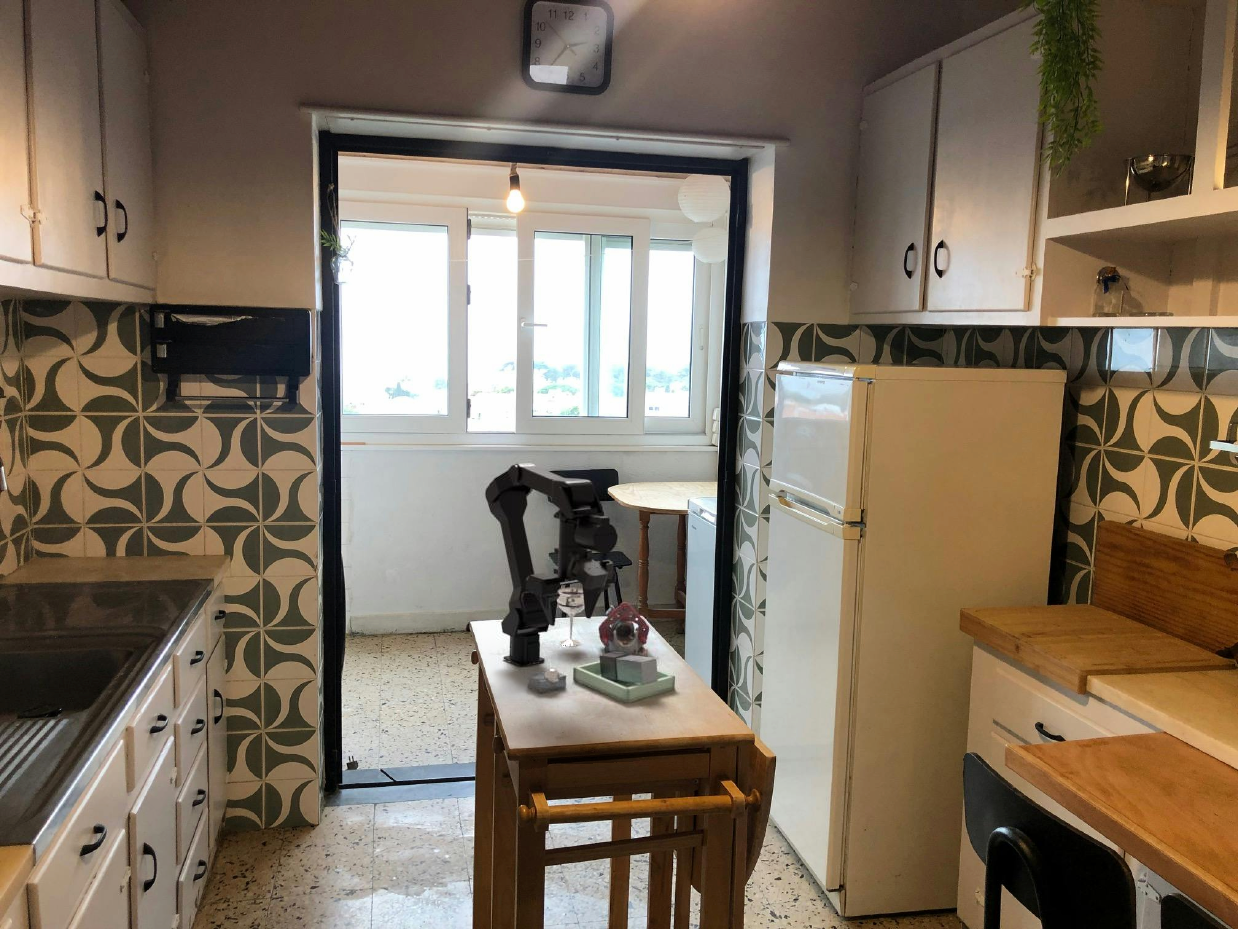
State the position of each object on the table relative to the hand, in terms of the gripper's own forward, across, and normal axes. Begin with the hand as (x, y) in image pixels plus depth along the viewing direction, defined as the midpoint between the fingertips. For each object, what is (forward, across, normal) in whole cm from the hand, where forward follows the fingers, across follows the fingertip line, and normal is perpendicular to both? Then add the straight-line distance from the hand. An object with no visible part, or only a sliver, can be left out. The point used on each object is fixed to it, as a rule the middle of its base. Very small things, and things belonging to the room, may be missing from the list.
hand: (570, 621), depth 188 cm
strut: (+11, +9, -9) cm, 16 cm away
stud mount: (+12, -5, 0) cm, 13 cm away
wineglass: (+13, +17, +20) cm, 29 cm away
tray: (+12, +8, -7) cm, 17 cm away
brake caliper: (+13, +24, +10) cm, 28 cm away
